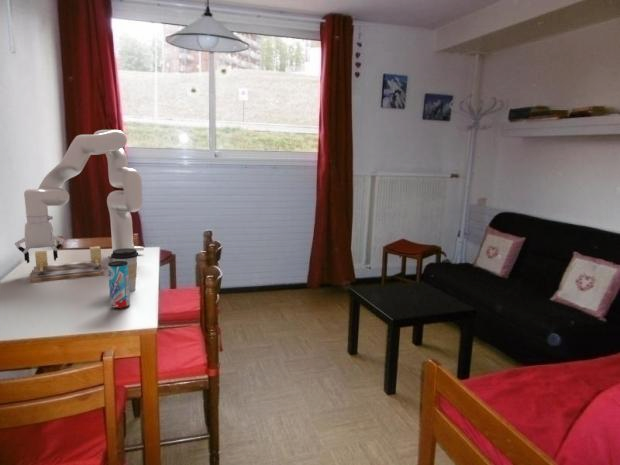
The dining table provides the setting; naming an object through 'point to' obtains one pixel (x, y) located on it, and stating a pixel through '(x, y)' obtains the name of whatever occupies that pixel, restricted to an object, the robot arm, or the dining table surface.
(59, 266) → the board
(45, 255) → the block
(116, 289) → the beverage can
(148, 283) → the dining table surface
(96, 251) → the fixed leg
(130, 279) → the coffee cup
